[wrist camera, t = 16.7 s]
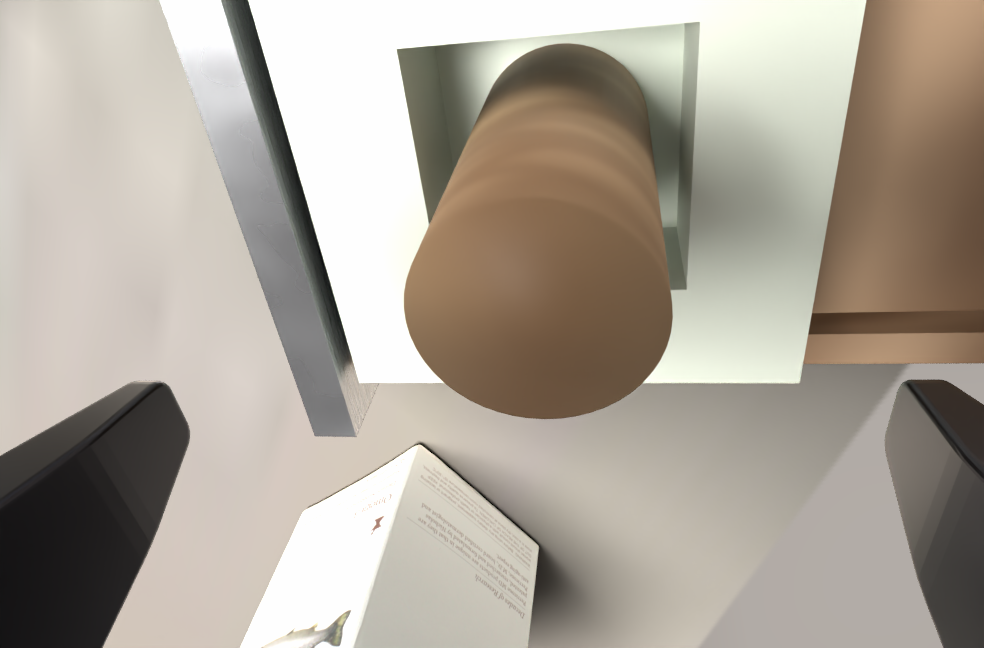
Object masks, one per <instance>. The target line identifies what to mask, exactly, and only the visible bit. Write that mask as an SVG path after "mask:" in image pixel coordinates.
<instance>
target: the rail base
mask: <svg viewBox="0 0 984 648" xmlns="http://www.w3.org/2000/svg"><path fill="white" fill-rule="evenodd" d="M160 3H161V6H162V9H163V12H164V14H165V17H166V20H167V23H168V26H169V28H170V31H171V34H172V37H173V40H174V42H175V45H176V48H177V51H178V54H179V56H180V59H181V62H182V65H183V68H184V70H185V73H186V76H187V79H188V82H189V84H190V87H191V90H192V93H193V96H194V98H195V101H196V104H197V107H198V110H199V112H200V115H201V118H202V121H203V124H204V126H205V129H206V132H207V135H208V138H209V141H210V143H211V146H212V149H213V152H214V155H215V157H216V160H217V163H218V166H219V169H220V171H221V174H222V177H223V180H224V183H225V185H226V188H227V191H228V194H229V197H230V199H231V202H232V205H233V208H234V211H235V213H236V216H237V219H238V222H239V225H240V227H241V230H242V233H243V236H244V239H245V241H246V244H247V247H248V250H249V253H250V255H251V258H252V261H253V264H254V267H255V269H256V272H257V275H258V278H259V281H260V283H261V286H262V289H263V292H264V295H265V297H266V300H267V303H268V306H269V309H270V311H271V314H272V317H273V320H274V323H275V325H276V328H277V331H278V334H279V337H280V339H281V342H282V345H283V348H284V351H285V353H286V356H287V359H288V362H289V365H290V367H291V370H292V373H293V376H294V379H295V381H296V384H297V387H298V390H299V393H300V395H301V398H302V401H303V404H304V407H305V409H306V412H307V415H308V418H309V421H310V423H311V426H312V429H313V432H314V435H315V436H332V437H356V436H357V434H358V432H359V429H360V427H361V424H362V422H363V420H364V417H365V415H366V413H367V410H368V408H369V405H370V403H371V401H372V398H373V396H374V394H375V391H376V389H377V386H378V384H379V383H359V380H358V376H357V373H356V370H355V366H354V363H353V359H352V356H351V352H350V349H349V345H348V342H347V339H346V335H345V332H344V328H343V325H342V321H341V318H340V314H339V311H338V307H337V304H336V301H335V297H334V294H333V290H332V287H331V283H330V280H329V276H328V273H327V270H326V266H325V263H324V259H323V256H322V252H321V249H320V245H319V242H318V239H317V235H316V232H315V228H314V225H313V221H312V218H311V214H310V211H309V208H308V204H307V201H306V197H305V194H304V190H303V187H302V183H301V180H300V176H299V173H298V170H297V166H296V163H295V159H294V156H293V152H292V149H291V145H290V142H289V139H288V135H287V132H286V128H285V125H284V121H283V118H282V114H281V111H280V108H279V104H278V101H277V97H276V94H275V90H274V87H273V83H272V80H271V77H270V73H269V70H268V66H267V63H266V59H265V56H264V52H263V49H262V45H261V42H260V39H259V35H258V32H257V28H256V25H255V21H254V18H253V14H252V11H251V8H250V4H249V1H248V0H160ZM899 363H984V0H866V5H865V11H864V17H863V23H862V28H861V34H860V40H859V46H858V51H857V57H856V63H855V69H854V74H853V80H852V86H851V91H850V97H849V103H848V109H847V114H846V120H845V126H844V132H843V137H842V143H841V149H840V155H839V160H838V166H837V172H836V177H835V183H834V189H833V195H832V200H831V206H830V212H829V218H828V223H827V229H826V235H825V241H824V246H823V252H822V258H821V263H820V269H819V275H818V281H817V286H816V292H815V298H814V304H813V309H812V315H811V321H810V327H809V332H808V338H807V344H806V349H805V355H804V361H803V364H899Z"/></svg>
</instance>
